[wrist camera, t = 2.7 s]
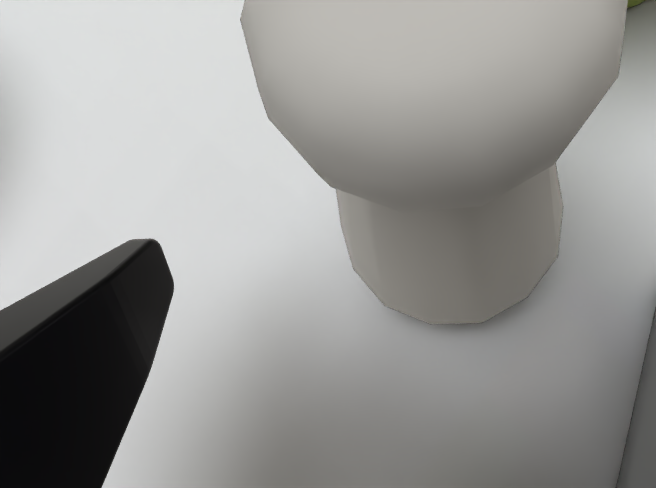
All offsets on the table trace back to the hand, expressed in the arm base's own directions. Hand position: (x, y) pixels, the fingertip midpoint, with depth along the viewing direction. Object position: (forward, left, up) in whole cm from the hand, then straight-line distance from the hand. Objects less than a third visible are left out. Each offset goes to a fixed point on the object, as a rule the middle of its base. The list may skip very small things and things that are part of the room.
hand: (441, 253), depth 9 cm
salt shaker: (+1, -2, -10) cm, 10 cm away
